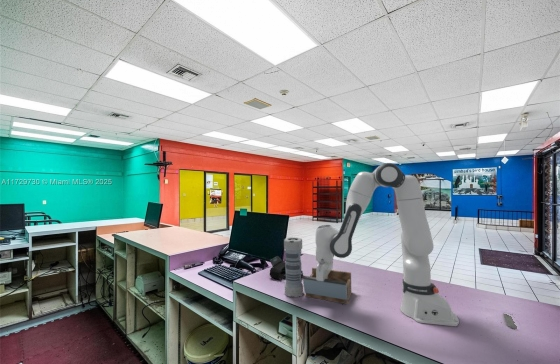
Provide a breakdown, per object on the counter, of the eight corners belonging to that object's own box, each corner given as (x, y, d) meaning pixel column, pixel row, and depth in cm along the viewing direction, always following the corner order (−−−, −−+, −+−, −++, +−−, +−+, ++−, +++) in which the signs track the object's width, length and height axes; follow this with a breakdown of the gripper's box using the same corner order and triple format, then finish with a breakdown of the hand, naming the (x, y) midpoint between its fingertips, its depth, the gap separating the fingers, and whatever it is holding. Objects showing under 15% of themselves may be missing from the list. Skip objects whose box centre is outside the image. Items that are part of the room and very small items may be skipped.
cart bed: (351, 292, 134) (351, 272, 134) (347, 303, 122) (347, 281, 122) (312, 286, 143) (312, 267, 143) (305, 296, 130) (305, 275, 131)
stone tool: (522, 329, 97) (505, 324, 100) (522, 333, 97) (505, 327, 100) (516, 315, 108) (501, 310, 111) (516, 318, 108) (501, 313, 111)
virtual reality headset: (277, 267, 173) (279, 254, 173) (306, 277, 164) (308, 263, 163) (264, 276, 157) (266, 261, 156) (295, 288, 147) (298, 272, 146)
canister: (302, 298, 128) (301, 241, 129) (283, 296, 130) (282, 240, 131) (304, 290, 138) (303, 237, 138) (286, 288, 140) (285, 236, 140)
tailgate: (347, 298, 121) (346, 281, 119) (347, 300, 120) (345, 283, 118) (305, 290, 130) (303, 275, 128) (304, 292, 129) (302, 277, 127)
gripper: (325, 263, 114) (326, 292, 114) (334, 252, 133) (335, 277, 133) (312, 261, 117) (313, 290, 117) (323, 251, 136) (324, 275, 135)
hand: (325, 283), depth 125 cm, fingers closed
